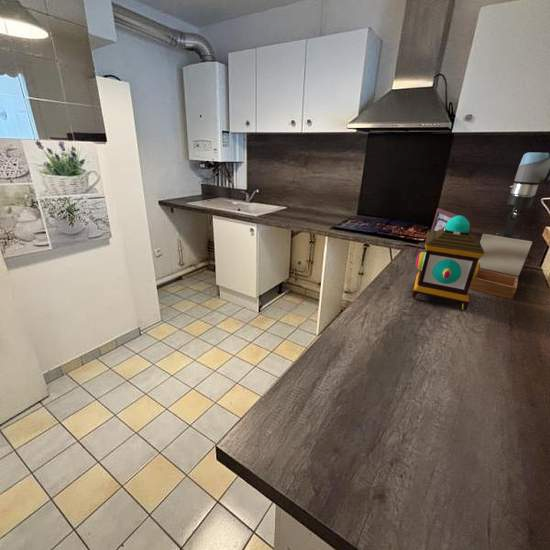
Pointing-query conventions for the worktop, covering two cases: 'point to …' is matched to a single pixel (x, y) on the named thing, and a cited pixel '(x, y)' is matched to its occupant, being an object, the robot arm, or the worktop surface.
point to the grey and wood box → (504, 253)
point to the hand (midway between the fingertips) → (501, 251)
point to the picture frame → (441, 219)
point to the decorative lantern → (449, 262)
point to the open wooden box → (495, 284)
